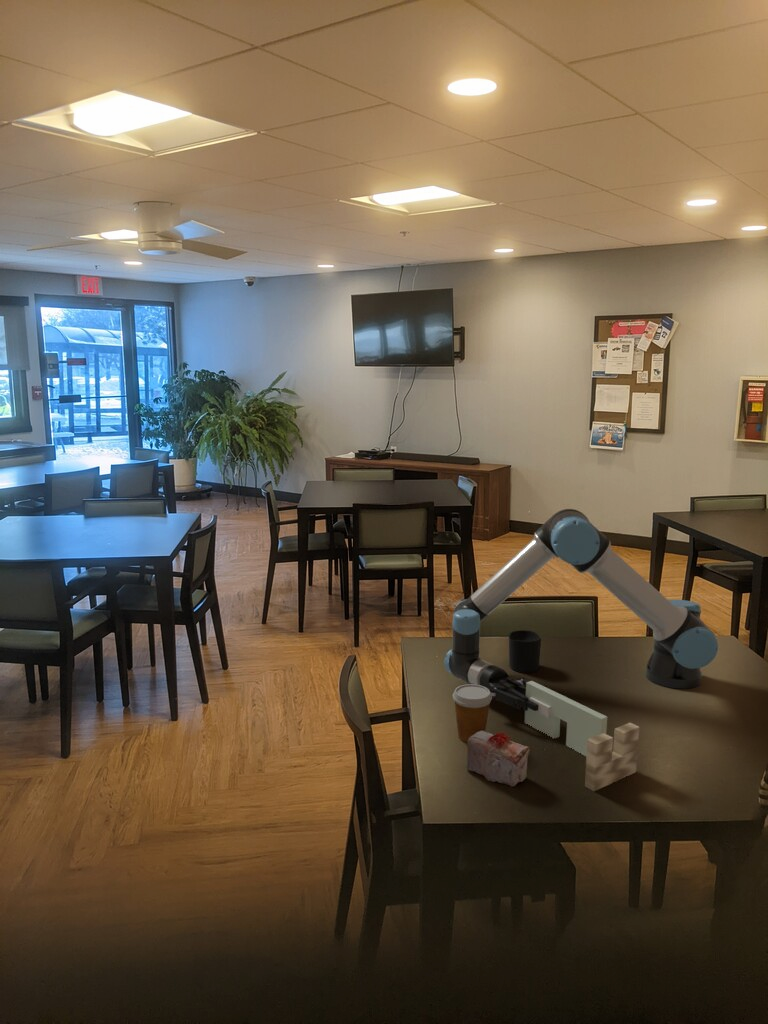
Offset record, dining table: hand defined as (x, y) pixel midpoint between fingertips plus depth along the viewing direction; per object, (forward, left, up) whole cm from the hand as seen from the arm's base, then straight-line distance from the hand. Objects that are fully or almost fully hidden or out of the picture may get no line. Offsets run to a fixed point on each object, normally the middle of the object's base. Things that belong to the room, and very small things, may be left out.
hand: (553, 710), depth 190 cm
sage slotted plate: (0, +3, -7) cm, 7 cm away
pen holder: (-24, -35, -7) cm, 43 cm away
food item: (+24, +6, -7) cm, 25 cm away
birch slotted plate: (+4, +21, -7) cm, 23 cm away
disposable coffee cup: (+17, -11, -7) cm, 21 cm away
